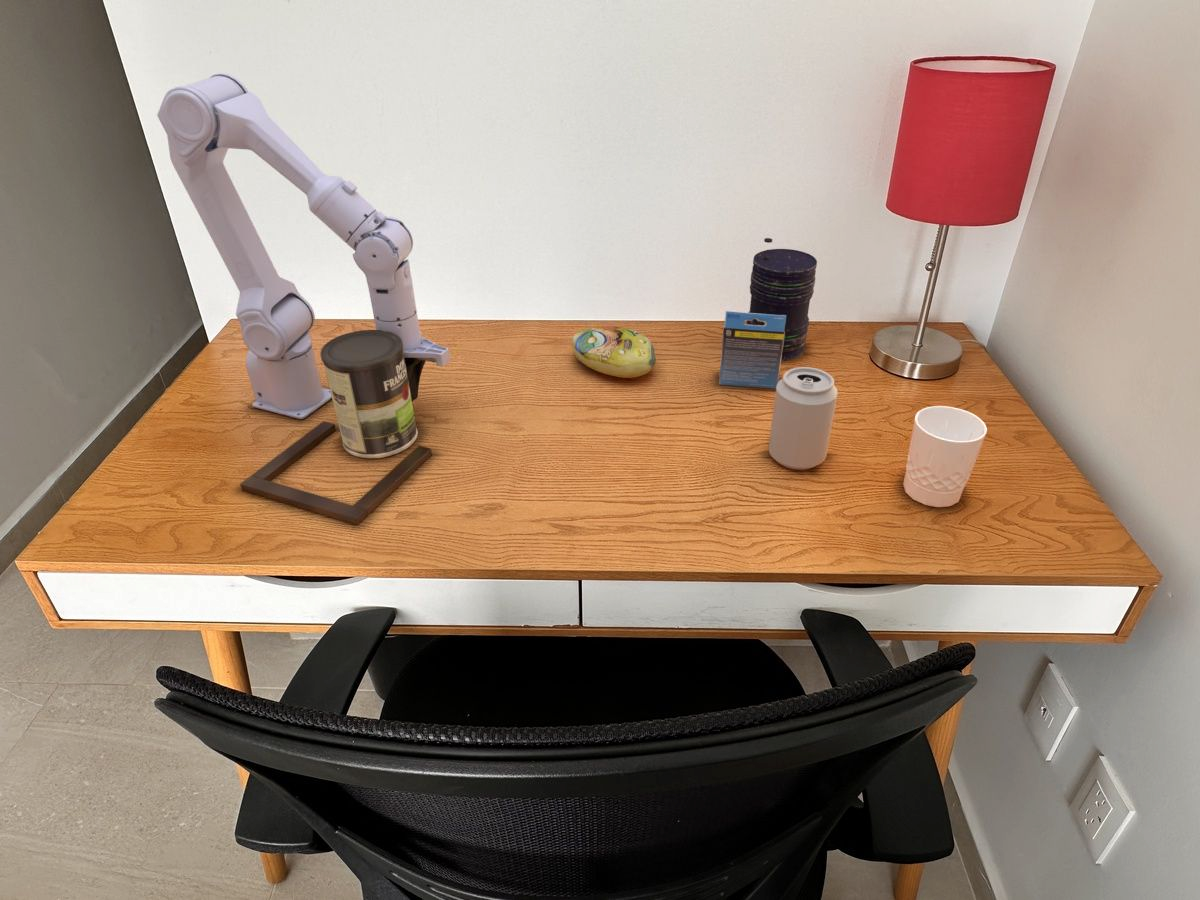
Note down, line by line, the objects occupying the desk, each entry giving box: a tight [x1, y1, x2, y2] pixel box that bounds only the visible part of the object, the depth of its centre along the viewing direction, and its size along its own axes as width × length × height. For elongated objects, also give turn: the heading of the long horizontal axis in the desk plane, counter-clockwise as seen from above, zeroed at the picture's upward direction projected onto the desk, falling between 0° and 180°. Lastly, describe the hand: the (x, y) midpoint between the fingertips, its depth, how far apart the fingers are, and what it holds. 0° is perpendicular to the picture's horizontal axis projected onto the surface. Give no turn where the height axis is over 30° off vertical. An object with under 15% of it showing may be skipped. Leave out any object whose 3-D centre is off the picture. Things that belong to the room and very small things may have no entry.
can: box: [768, 366, 839, 471], centre depth 102 cm, size 8×8×12 cm
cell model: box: [571, 325, 657, 379], centre depth 125 cm, size 11×8×15 cm
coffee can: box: [319, 329, 419, 459], centre depth 106 cm, size 10×10×14 cm
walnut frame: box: [239, 420, 433, 526], centre depth 103 cm, size 18×16×1 cm
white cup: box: [902, 405, 988, 508], centre depth 96 cm, size 8×8×10 cm
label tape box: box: [718, 310, 786, 390], centre depth 118 cm, size 9×4×12 cm, turn 80°
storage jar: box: [745, 237, 818, 362], centre depth 126 cm, size 10×10×18 cm
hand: (410, 399), depth 115 cm, fingers closed, pressing on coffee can
